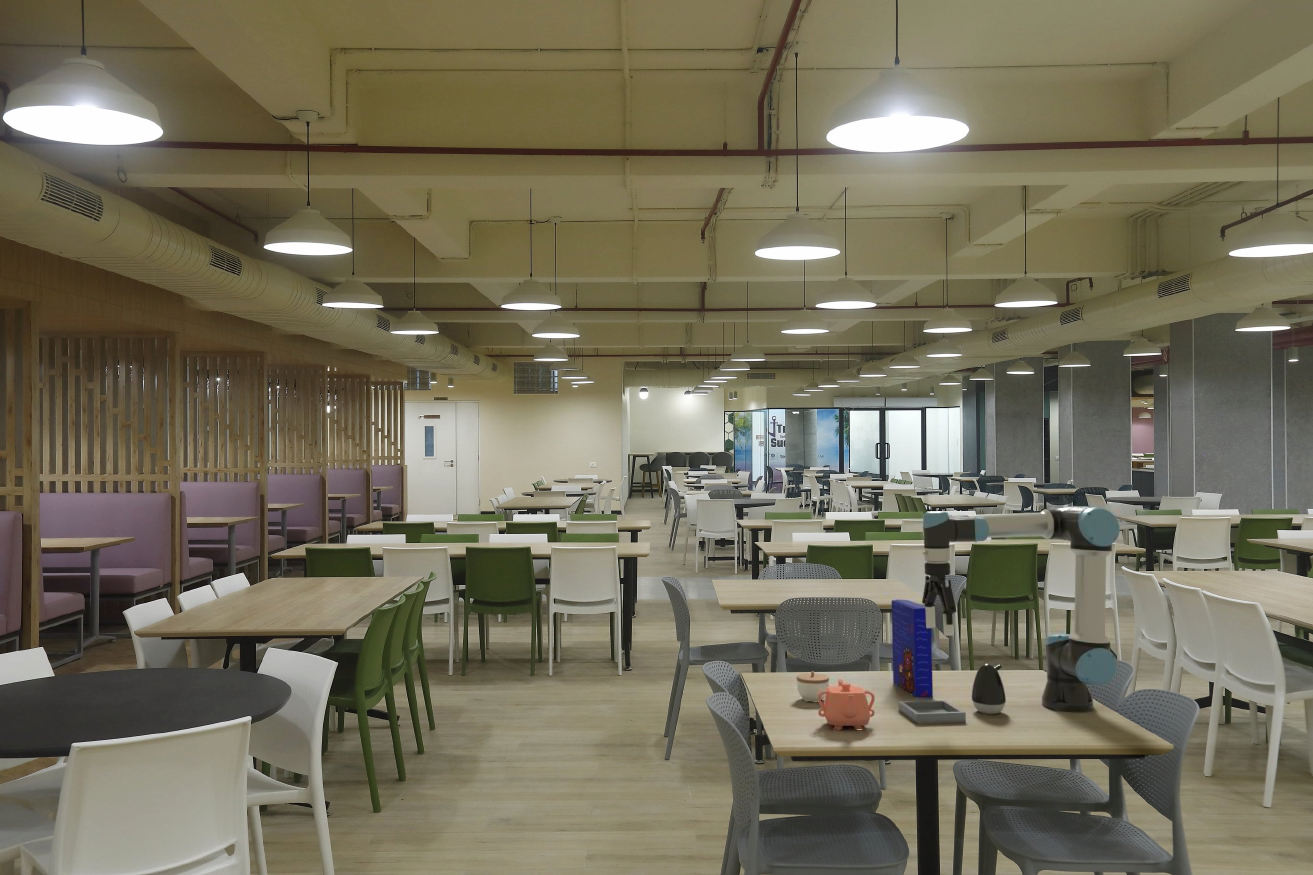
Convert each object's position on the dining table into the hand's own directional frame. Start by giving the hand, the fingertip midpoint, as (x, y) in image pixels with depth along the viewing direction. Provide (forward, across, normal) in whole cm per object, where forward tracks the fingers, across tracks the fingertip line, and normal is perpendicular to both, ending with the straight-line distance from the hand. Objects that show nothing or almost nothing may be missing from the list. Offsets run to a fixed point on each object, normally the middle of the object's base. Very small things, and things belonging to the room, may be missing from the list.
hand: (939, 631), depth 275 cm
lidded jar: (+27, -31, -32) cm, 52 cm away
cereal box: (+27, -40, +6) cm, 49 cm away
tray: (+27, -6, -1) cm, 28 cm away
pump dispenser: (+28, -8, +19) cm, 34 cm away
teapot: (+27, +1, -30) cm, 41 cm away
